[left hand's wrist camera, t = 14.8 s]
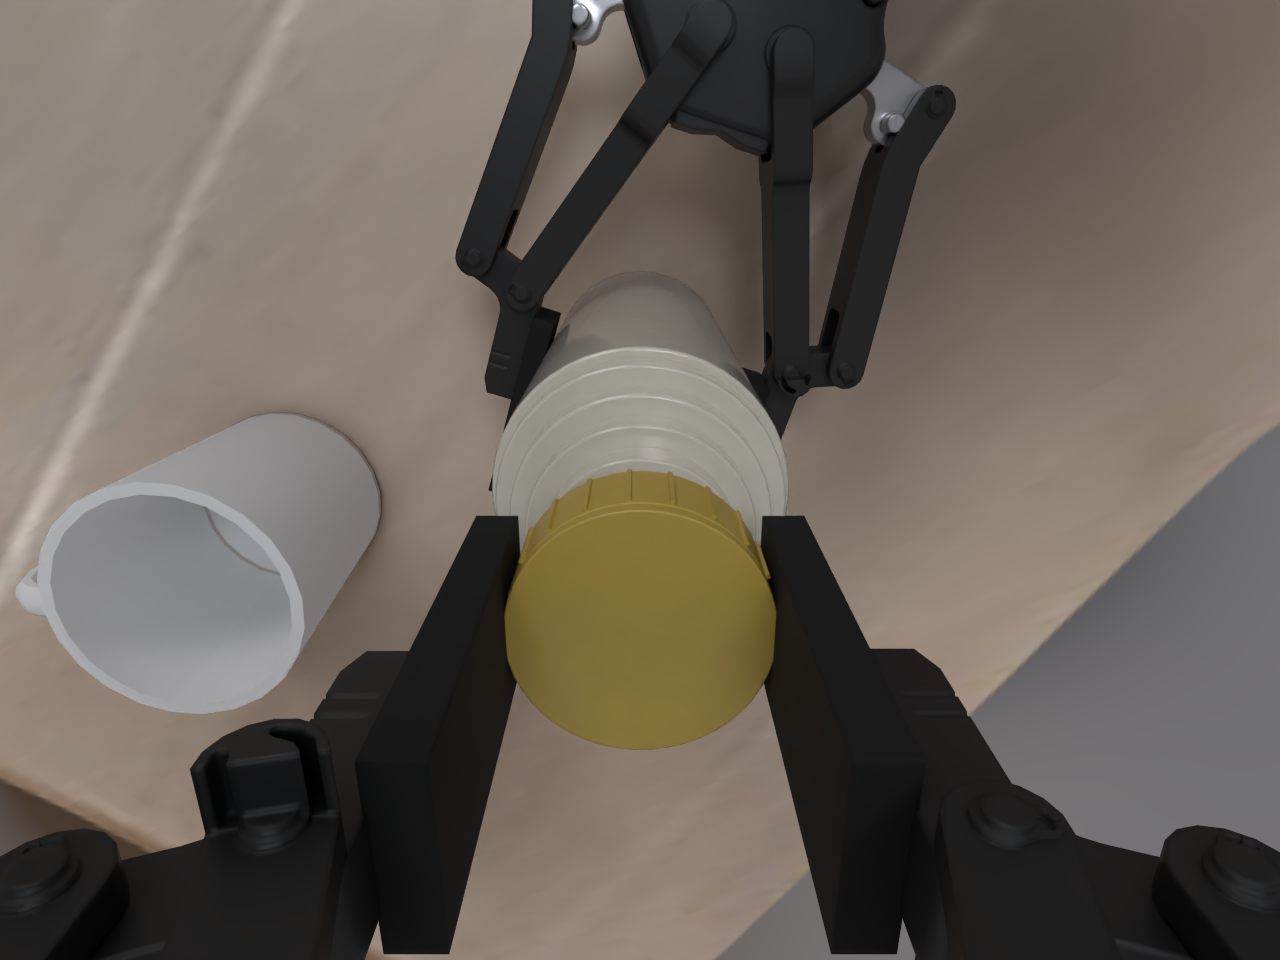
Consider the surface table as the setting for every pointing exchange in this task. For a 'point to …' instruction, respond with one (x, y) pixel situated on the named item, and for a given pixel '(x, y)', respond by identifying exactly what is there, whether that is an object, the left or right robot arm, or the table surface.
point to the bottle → (640, 406)
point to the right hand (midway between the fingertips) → (603, 506)
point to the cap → (640, 612)
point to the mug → (208, 563)
